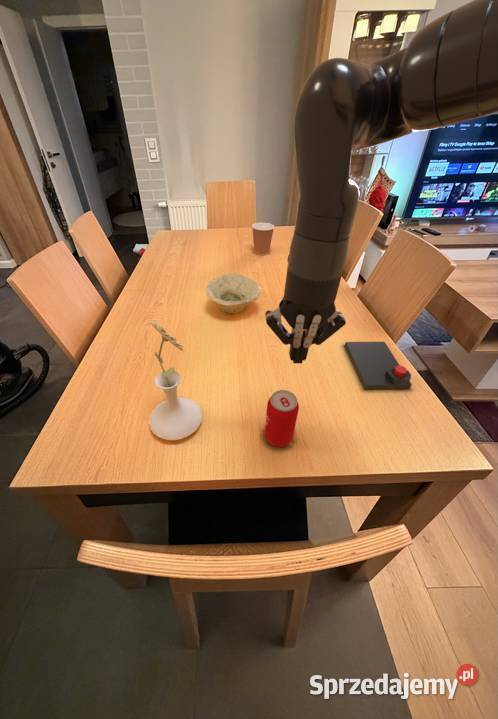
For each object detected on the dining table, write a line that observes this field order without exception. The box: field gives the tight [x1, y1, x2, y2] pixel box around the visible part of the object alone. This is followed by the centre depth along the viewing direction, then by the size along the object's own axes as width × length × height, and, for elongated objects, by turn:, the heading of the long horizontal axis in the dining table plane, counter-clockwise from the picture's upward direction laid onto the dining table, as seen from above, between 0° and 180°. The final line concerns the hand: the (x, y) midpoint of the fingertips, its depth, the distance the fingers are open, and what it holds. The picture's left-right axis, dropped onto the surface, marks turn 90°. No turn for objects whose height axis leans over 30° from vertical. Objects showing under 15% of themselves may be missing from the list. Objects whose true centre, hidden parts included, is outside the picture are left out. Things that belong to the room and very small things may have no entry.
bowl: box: [205, 273, 261, 314], centre depth 100 cm, size 14×18×15 cm
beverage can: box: [263, 389, 300, 448], centre depth 61 cm, size 6×6×12 cm
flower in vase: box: [148, 319, 203, 441], centre depth 60 cm, size 13×11×25 cm
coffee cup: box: [251, 222, 275, 256], centre depth 140 cm, size 10×10×12 cm
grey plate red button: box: [343, 341, 413, 391], centre depth 83 cm, size 18×12×4 cm, turn 3°
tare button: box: [393, 365, 408, 378], centre depth 77 cm, size 3×3×2 cm
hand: (296, 360), depth 52 cm, fingers closed
